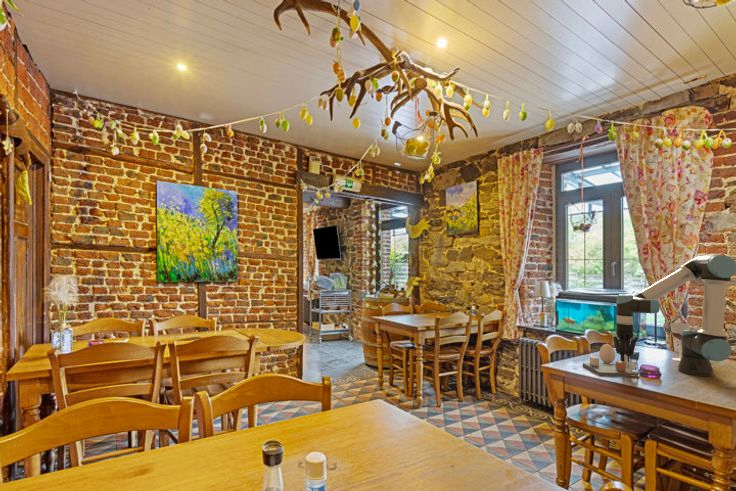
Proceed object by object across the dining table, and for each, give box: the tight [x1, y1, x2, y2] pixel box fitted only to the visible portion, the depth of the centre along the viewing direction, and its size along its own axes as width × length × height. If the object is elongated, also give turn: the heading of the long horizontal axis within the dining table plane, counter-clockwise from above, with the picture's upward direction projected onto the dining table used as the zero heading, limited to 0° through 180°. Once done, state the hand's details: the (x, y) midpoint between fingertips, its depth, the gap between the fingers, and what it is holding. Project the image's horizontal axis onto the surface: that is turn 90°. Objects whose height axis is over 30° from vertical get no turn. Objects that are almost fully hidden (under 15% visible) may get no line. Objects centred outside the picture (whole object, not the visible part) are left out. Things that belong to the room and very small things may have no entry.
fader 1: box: [589, 356, 600, 366], centre depth 222 cm, size 3×4×4 cm
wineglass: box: [670, 322, 690, 362], centre depth 244 cm, size 9×10×22 cm
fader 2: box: [615, 360, 626, 371], centre depth 212 cm, size 3×4×4 cm
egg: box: [598, 343, 616, 364], centre depth 234 cm, size 8×8×11 cm
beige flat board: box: [582, 362, 638, 378], centre depth 217 cm, size 20×18×2 cm
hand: (624, 367), depth 212 cm, fingers closed
